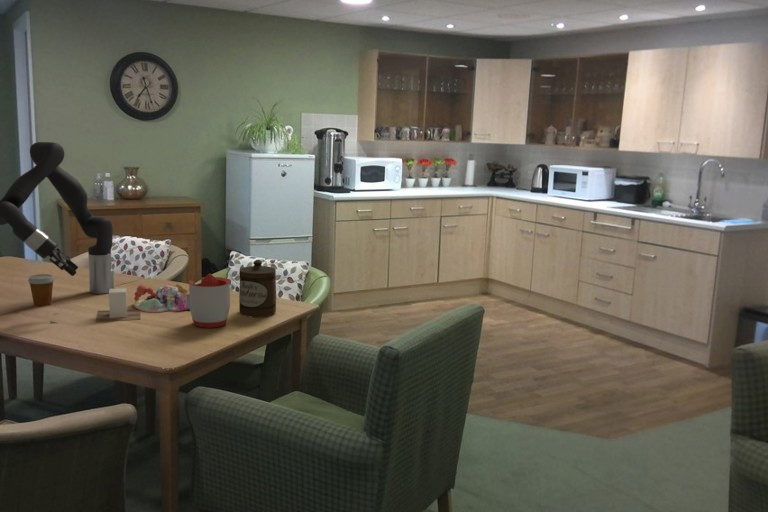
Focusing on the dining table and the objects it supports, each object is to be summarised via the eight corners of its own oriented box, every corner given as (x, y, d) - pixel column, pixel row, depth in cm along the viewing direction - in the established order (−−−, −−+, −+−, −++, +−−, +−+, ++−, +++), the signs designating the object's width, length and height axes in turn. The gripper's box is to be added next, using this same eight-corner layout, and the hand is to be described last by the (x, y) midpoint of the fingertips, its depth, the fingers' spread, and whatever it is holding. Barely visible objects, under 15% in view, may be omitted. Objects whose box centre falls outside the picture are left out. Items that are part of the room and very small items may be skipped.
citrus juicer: (206, 315, 282) (206, 266, 278) (239, 323, 273) (239, 273, 269) (176, 324, 269) (176, 273, 265) (210, 332, 260) (210, 279, 256)
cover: (110, 313, 277) (109, 288, 275) (127, 312, 279) (126, 288, 277) (109, 317, 271) (108, 292, 269) (126, 317, 273) (126, 292, 271)
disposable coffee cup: (45, 309, 281) (43, 279, 279) (24, 307, 283) (22, 278, 281) (60, 303, 290) (59, 275, 288) (40, 301, 292) (38, 273, 290)
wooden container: (232, 314, 285) (232, 261, 281) (251, 306, 299) (252, 255, 295) (263, 319, 280) (264, 265, 276) (282, 310, 294) (283, 259, 290)
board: (97, 312, 280) (97, 310, 280) (140, 310, 285) (140, 309, 285) (95, 323, 265) (95, 322, 265) (140, 321, 270) (140, 319, 270)
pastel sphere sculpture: (174, 296, 309) (174, 275, 308) (210, 306, 296) (210, 285, 294) (124, 305, 289) (124, 283, 287) (160, 316, 276) (160, 293, 274)
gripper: (45, 239, 257) (81, 268, 264) (50, 232, 270) (84, 260, 277) (30, 254, 257) (67, 283, 263) (35, 246, 270) (70, 274, 276)
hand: (75, 271), depth 270 cm, fingers open, 8 cm apart
